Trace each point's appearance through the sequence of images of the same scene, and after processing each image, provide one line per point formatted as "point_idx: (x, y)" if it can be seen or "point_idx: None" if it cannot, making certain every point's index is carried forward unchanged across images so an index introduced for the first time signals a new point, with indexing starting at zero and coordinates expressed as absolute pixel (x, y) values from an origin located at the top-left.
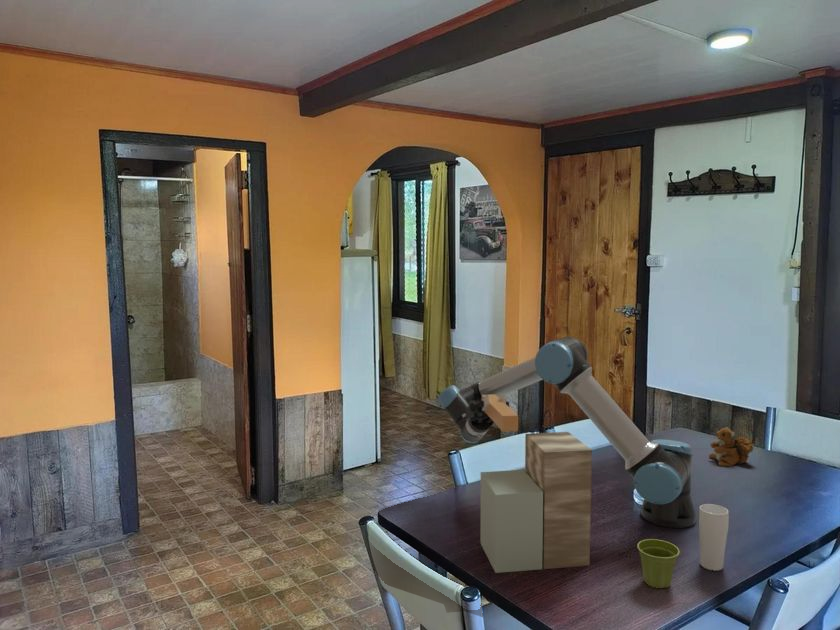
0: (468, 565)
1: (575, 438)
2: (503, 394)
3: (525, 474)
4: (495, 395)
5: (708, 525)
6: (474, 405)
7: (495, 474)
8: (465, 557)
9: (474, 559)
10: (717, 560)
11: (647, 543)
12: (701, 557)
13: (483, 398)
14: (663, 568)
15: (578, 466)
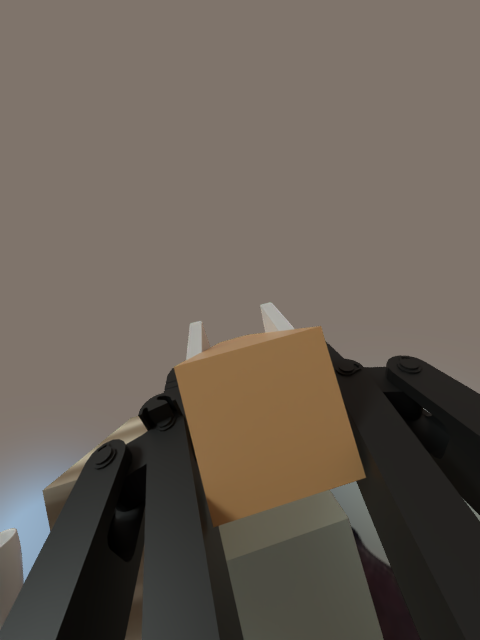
0: (384, 584)
1: (94, 449)
2: (196, 323)
3: (225, 524)
4: (193, 358)
5: (20, 548)
6: (377, 373)
7: (302, 509)
8: (410, 626)
9: (385, 616)
10: None
11: None
12: None
13: (288, 323)
14: None
15: None
